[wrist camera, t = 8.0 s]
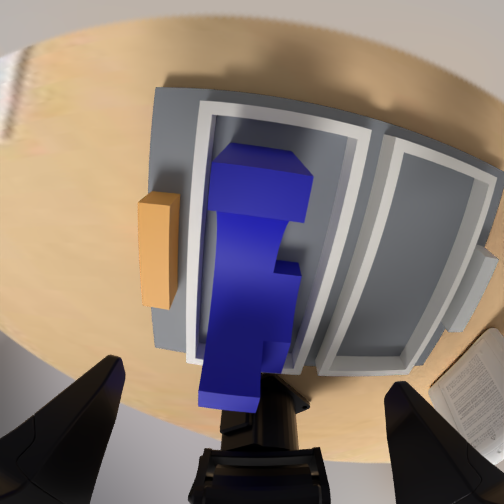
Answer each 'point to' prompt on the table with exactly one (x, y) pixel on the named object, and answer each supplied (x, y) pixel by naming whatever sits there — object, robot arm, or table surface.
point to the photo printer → (476, 395)
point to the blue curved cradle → (251, 271)
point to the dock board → (322, 230)
